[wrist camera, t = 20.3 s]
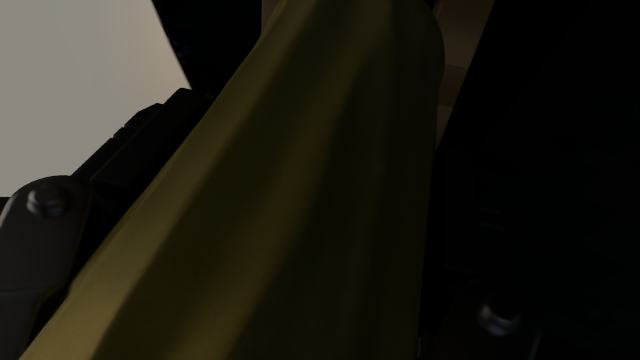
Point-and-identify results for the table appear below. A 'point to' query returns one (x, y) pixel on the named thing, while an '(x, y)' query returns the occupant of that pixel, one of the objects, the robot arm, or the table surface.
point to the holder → (459, 40)
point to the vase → (280, 206)
